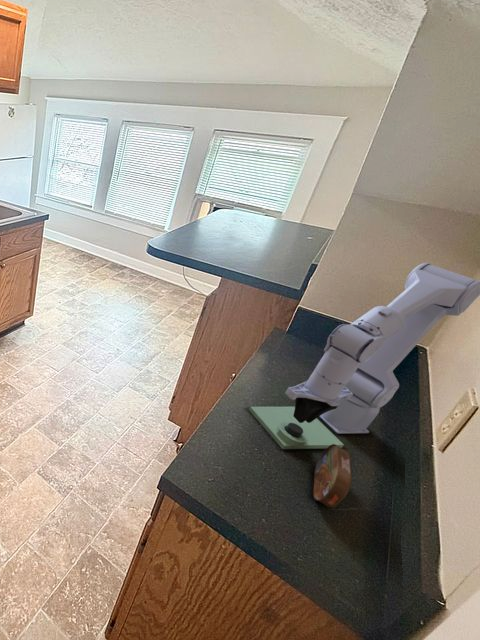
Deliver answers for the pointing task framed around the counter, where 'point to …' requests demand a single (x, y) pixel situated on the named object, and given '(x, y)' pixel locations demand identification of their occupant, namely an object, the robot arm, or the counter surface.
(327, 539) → the counter surface
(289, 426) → the button
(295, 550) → the counter surface
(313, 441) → the pale green flat piece
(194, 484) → the counter surface
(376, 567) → the counter surface
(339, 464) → the tin
